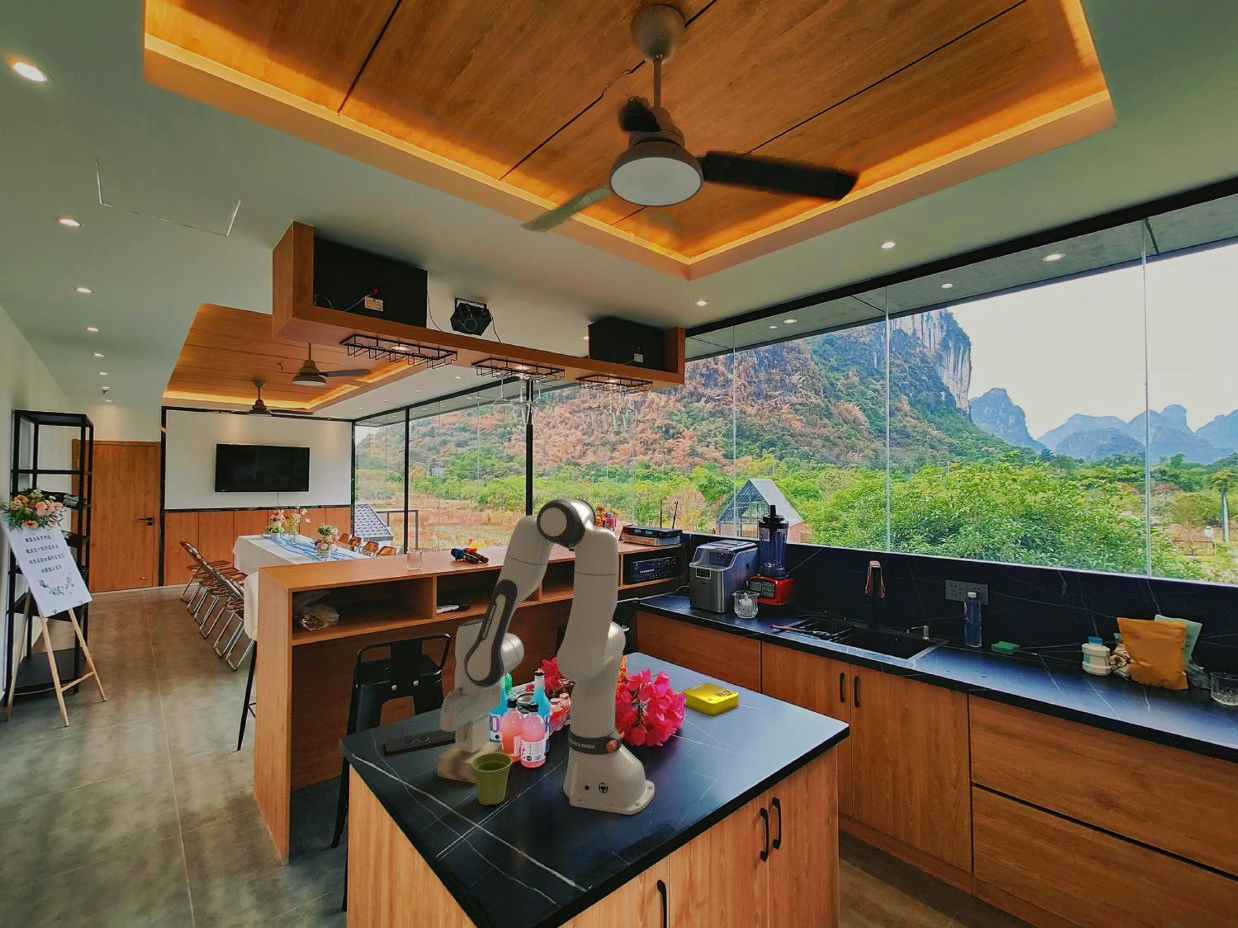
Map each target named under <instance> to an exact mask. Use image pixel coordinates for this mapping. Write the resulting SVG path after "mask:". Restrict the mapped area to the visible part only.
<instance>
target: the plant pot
mask: <svg viewBox="0 0 1238 928" xmlns="http://www.w3.org/2000/svg"><path fill="white" fill-rule="evenodd" d="M512 764H513V758H512V757H511V756H510V755H509V754H507V753H487V754H483V755H480V756H478V757H476V758H475V759H474V760H473V761H472V768H473V769H474V773H475V776H476V783H475V784H476V793H477V800H478V802H479V803H480V804H481V805H482V806H489V805H498V804H501V802H503V801H504V799H505V797H506V789H507V782H508V778H509V777H508V776H509V771H510V769H511V765H512Z"/></svg>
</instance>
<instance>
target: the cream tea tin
mask: <svg viewBox="0 0 1238 928" xmlns="http://www.w3.org/2000/svg"><path fill="white" fill-rule="evenodd" d="M488 717H489V712H488V713H486V712H484V713H482V714H480V715H478V716H477V717H475V718H473V719H471V720H469V723H467V724H465V728H464V729H463V731H464V733H467V740H465V741H464V742H459V741H458V734H457V733H456V743H455V744H456V747H455V748H456V749H460V750H464V751H468V752H471V753H473V752H474V751H476V750H478V749H479V748H481V747H482V746H484V745H485V744H487V741H488V739H487V738H488V737H487V736H488V734H487V733H488V731H487V730H488V725H487V724H488V721H487V720H488Z"/></svg>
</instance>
